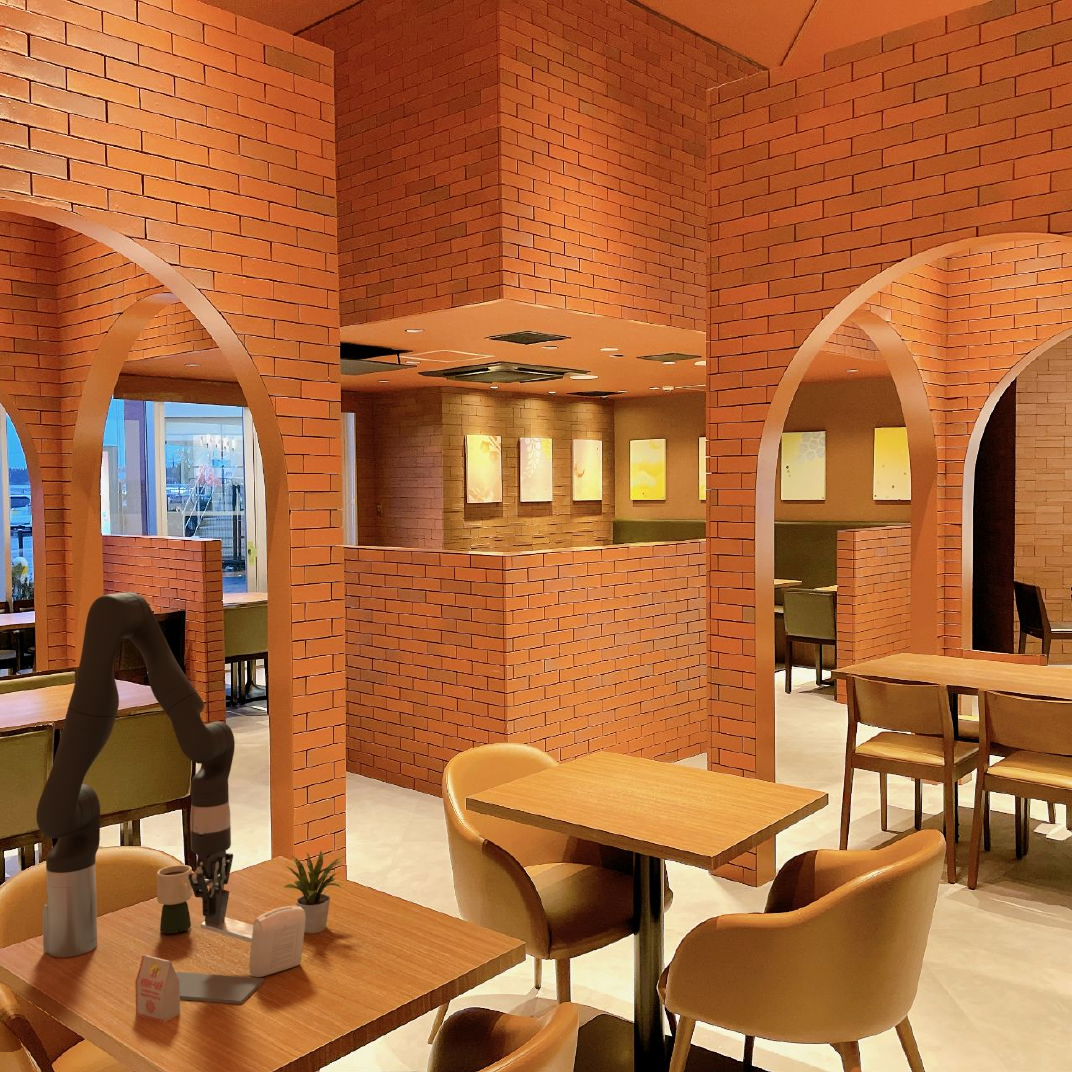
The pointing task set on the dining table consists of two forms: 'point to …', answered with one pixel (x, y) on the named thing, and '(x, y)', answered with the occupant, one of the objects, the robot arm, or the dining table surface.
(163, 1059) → the dining table surface
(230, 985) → the mat
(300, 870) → the house plant
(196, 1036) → the dining table surface
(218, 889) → the grey l-shaped piece
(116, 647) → the robot arm
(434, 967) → the dining table surface
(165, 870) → the character mug
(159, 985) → the tea bag
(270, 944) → the photo printer
